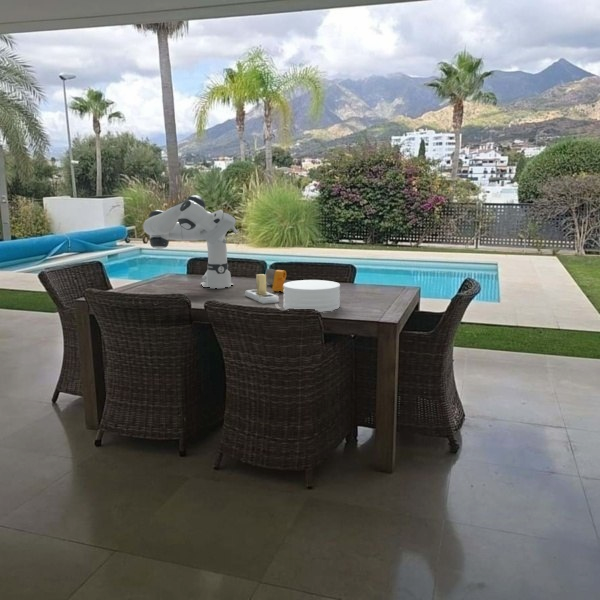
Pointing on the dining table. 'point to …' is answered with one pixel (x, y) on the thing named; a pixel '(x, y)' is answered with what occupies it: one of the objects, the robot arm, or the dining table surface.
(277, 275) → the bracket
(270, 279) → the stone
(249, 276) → the dining table surface
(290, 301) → the plate stack
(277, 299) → the white power strip
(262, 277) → the peg
